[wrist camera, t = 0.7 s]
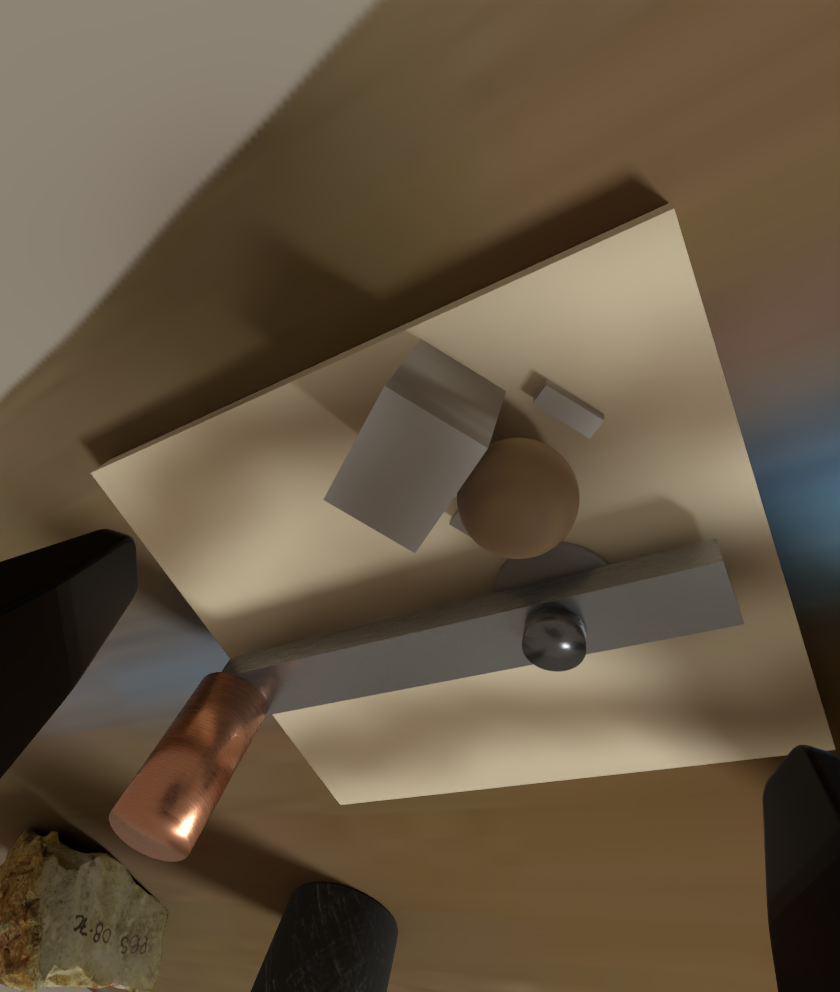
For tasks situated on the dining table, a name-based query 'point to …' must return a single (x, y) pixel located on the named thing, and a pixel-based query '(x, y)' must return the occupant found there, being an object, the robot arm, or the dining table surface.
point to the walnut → (519, 499)
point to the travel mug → (330, 943)
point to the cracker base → (466, 565)
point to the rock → (75, 920)
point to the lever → (412, 670)
